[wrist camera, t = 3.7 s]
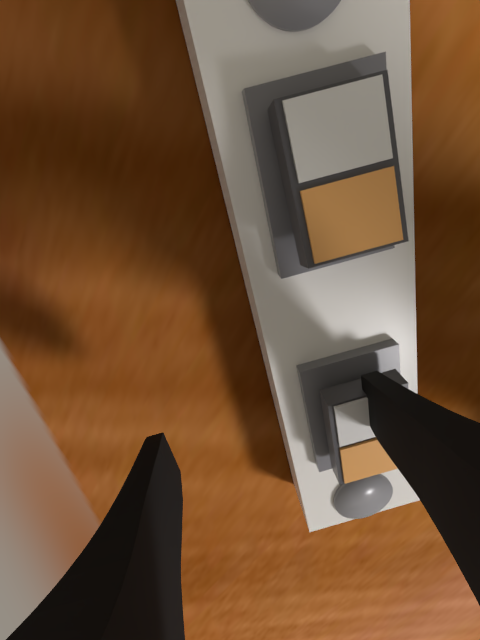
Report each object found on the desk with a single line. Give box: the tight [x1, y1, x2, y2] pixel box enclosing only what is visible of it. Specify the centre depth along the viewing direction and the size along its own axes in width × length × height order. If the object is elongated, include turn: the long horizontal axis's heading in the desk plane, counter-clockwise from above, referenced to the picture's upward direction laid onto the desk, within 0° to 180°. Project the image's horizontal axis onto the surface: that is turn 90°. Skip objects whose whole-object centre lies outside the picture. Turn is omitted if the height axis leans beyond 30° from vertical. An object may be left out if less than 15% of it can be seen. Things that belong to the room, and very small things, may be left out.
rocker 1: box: [268, 70, 409, 269], centre depth 10 cm, size 4×3×1 cm
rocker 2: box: [319, 369, 408, 485], centre depth 14 cm, size 4×3×1 cm
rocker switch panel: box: [176, 0, 420, 532], centre depth 15 cm, size 24×6×4 cm, turn 13°
